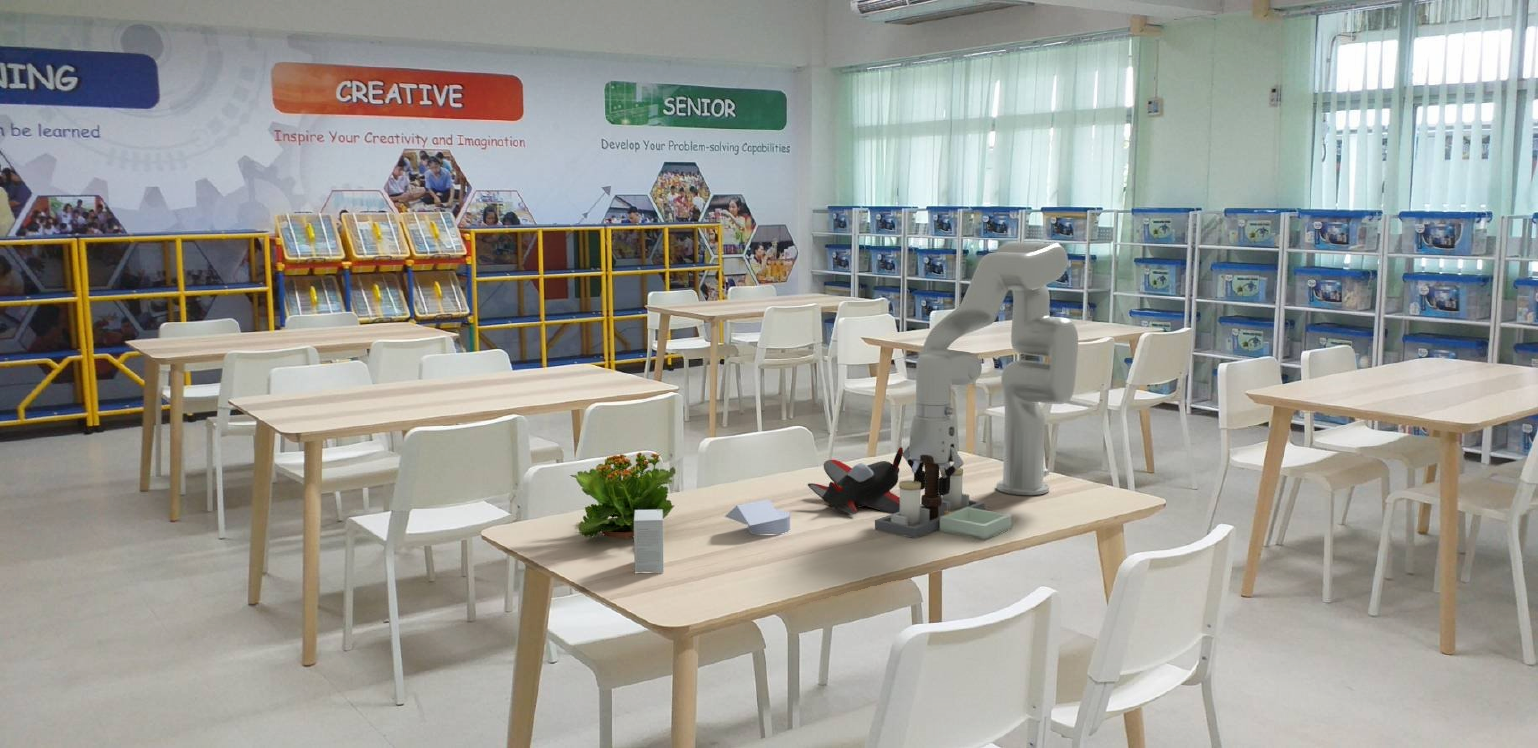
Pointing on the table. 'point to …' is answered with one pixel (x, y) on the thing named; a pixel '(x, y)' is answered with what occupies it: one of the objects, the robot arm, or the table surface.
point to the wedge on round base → (761, 517)
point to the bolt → (931, 487)
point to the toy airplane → (861, 485)
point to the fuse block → (921, 519)
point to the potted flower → (622, 494)
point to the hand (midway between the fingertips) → (931, 491)
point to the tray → (975, 523)
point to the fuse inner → (955, 491)
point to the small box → (648, 540)
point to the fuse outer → (910, 501)
